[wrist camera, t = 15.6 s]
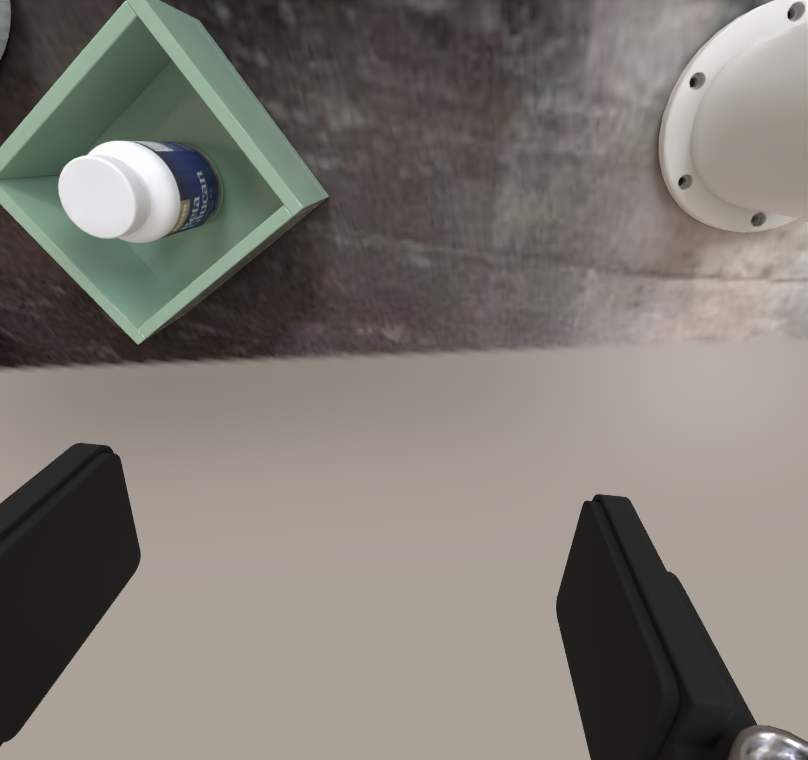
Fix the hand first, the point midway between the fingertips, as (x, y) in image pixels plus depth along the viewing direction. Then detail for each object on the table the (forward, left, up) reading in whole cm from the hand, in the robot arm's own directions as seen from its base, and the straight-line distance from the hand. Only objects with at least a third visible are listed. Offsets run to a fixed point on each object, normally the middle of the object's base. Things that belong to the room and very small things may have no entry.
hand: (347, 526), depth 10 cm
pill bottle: (+10, -13, -28) cm, 32 cm away
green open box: (+10, -13, -28) cm, 33 cm away
